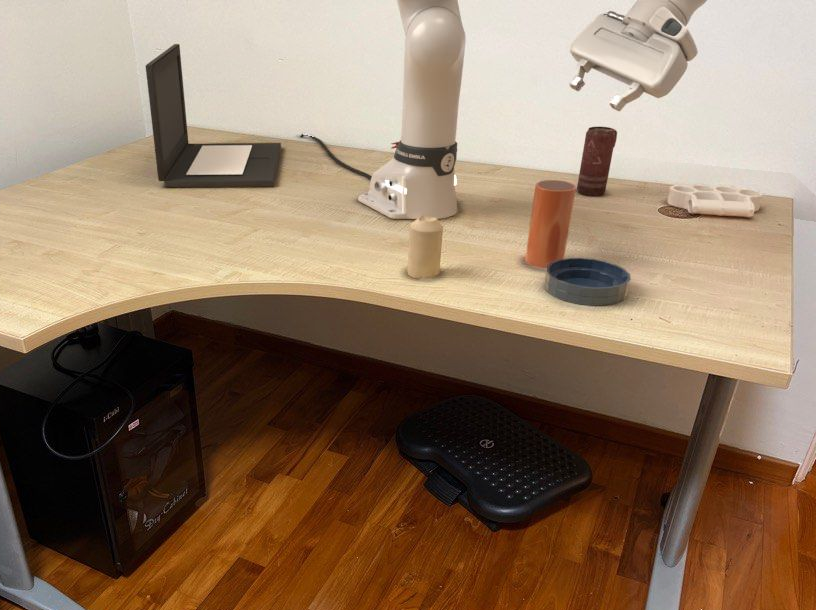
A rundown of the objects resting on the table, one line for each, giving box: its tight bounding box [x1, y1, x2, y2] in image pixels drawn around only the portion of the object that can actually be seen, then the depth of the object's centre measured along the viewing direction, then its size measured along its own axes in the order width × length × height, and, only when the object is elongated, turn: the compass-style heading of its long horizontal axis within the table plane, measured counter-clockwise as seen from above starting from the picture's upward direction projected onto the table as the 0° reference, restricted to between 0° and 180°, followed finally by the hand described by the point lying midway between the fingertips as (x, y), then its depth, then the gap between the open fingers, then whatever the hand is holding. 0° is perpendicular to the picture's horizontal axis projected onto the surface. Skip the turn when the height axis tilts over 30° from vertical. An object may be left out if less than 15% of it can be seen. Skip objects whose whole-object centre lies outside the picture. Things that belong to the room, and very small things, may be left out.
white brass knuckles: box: [666, 183, 764, 219], centre depth 160 cm, size 3×18×15 cm
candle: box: [406, 215, 444, 280], centre depth 129 cm, size 6×6×10 cm
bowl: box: [543, 257, 632, 307], centre depth 124 cm, size 13×13×3 cm
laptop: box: [145, 43, 282, 188], centre depth 187 cm, size 37×27×27 cm
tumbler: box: [524, 179, 577, 269], centre depth 132 cm, size 7×7×14 cm
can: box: [576, 126, 618, 197], centre depth 168 cm, size 6×6×14 cm
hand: (593, 98), depth 129 cm, fingers open, 8 cm apart
